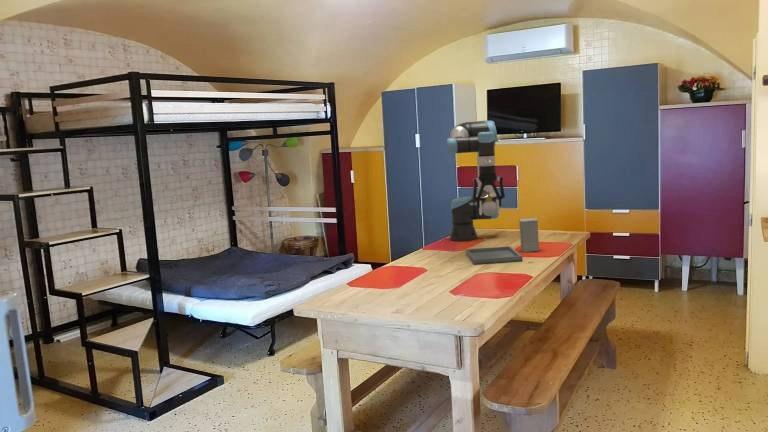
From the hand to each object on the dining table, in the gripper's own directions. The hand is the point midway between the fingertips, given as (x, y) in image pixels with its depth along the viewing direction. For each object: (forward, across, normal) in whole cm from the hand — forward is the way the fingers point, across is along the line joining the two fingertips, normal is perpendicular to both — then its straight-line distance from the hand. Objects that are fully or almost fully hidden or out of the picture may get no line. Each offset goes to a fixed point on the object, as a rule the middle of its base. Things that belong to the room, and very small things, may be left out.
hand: (489, 213), depth 288 cm
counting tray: (+21, +1, 0) cm, 21 cm away
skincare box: (+21, +21, +10) cm, 31 cm away
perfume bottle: (+1, -1, 0) cm, 1 cm away
